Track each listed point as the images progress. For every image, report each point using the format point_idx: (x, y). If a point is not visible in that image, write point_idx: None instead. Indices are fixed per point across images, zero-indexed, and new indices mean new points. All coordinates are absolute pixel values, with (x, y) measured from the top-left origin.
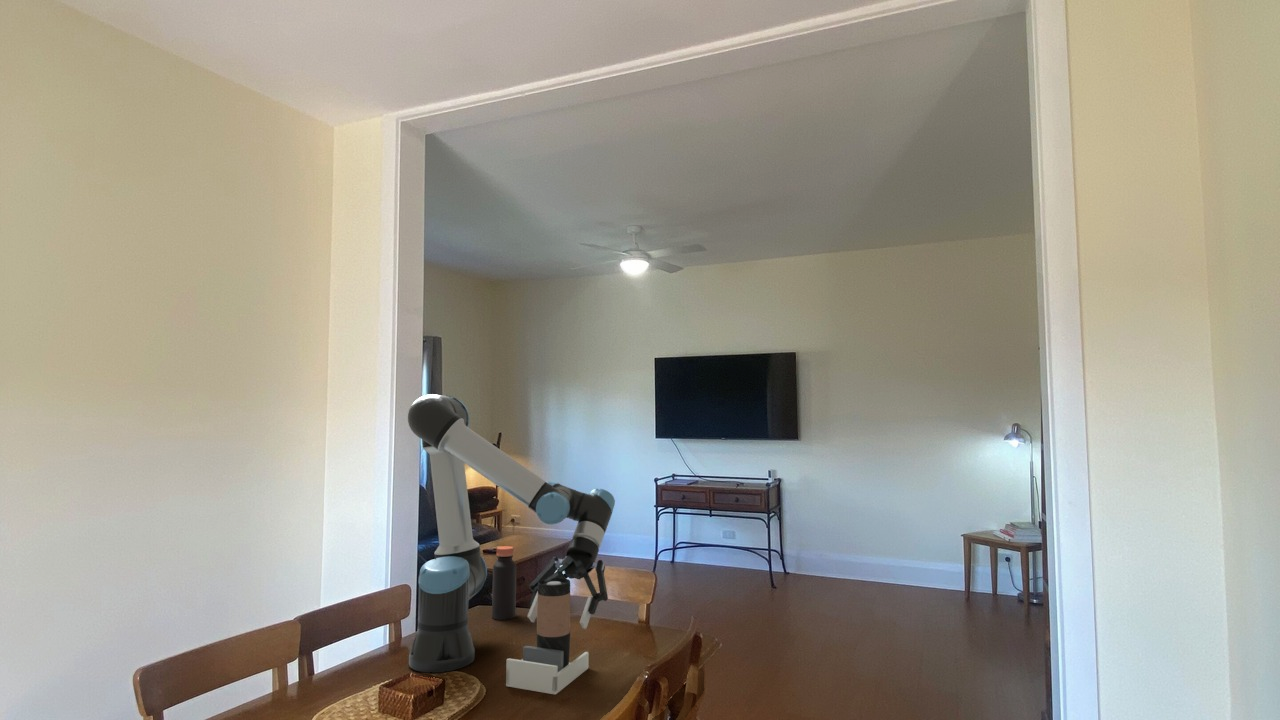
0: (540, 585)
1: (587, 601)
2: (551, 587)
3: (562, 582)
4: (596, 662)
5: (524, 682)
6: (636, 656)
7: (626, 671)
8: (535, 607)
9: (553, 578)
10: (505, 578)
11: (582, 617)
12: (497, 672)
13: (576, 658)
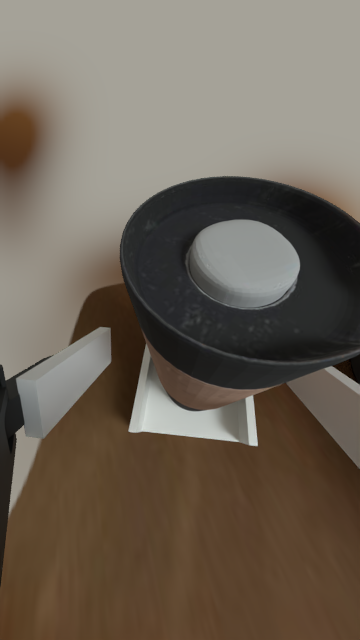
0: (283, 194)
1: (55, 363)
2: (206, 189)
3: (226, 347)
4: (125, 476)
5: None
6: (17, 578)
7: (52, 436)
8: (315, 377)
9: (352, 349)
10: None
11: (97, 333)
12: None
13: (145, 381)
